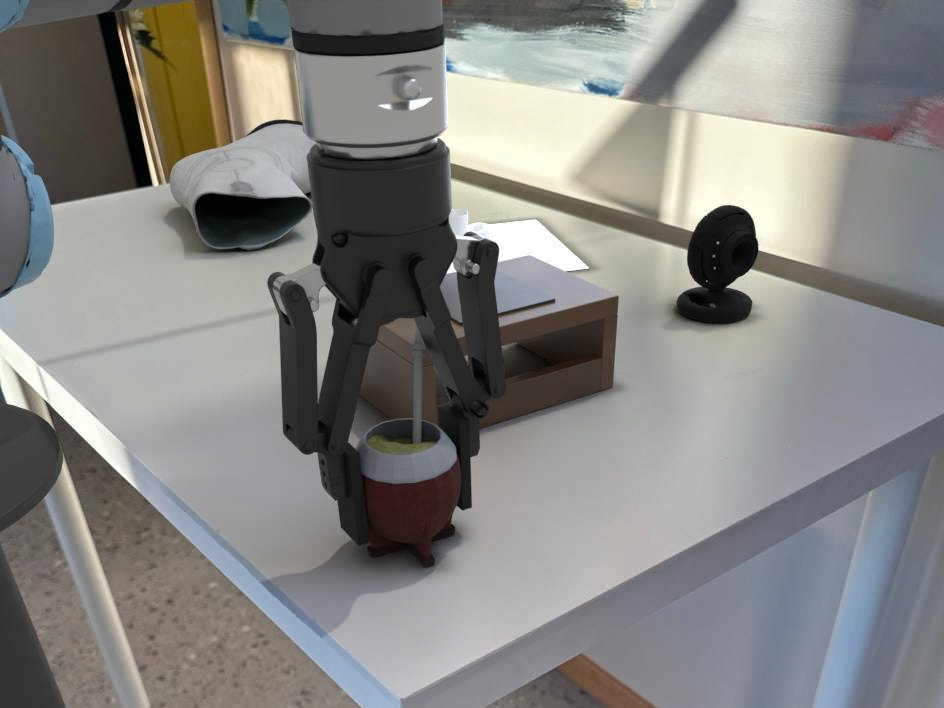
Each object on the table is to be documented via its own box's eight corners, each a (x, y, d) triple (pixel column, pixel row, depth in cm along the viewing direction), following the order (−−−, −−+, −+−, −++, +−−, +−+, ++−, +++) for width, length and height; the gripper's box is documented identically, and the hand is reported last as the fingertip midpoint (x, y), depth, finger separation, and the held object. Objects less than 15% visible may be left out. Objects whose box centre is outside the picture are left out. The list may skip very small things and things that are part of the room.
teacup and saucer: (486, 234, 119) (485, 199, 116) (503, 254, 113) (503, 217, 110) (416, 242, 117) (413, 206, 115) (430, 262, 111) (428, 225, 109)
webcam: (709, 330, 94) (723, 222, 87) (659, 307, 99) (669, 203, 92) (768, 313, 97) (786, 207, 91) (716, 292, 102) (730, 190, 96)
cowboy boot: (155, 141, 128) (174, 189, 109) (356, 103, 133) (405, 144, 115) (177, 215, 134) (197, 273, 116) (367, 176, 139) (416, 226, 121)
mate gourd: (382, 583, 62) (358, 360, 53) (342, 524, 68) (313, 313, 58) (486, 553, 65) (481, 335, 55) (439, 499, 70) (427, 292, 61)
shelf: (351, 388, 85) (340, 295, 80) (528, 339, 93) (529, 252, 88) (423, 445, 77) (416, 345, 72) (613, 387, 84) (619, 292, 79)
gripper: (219, 186, 44) (291, 593, 58) (575, 127, 52) (561, 498, 66) (167, 154, 49) (245, 537, 63) (499, 105, 57) (501, 454, 71)
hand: (407, 516), depth 65 cm, fingers closed on mate gourd, 7 cm apart
